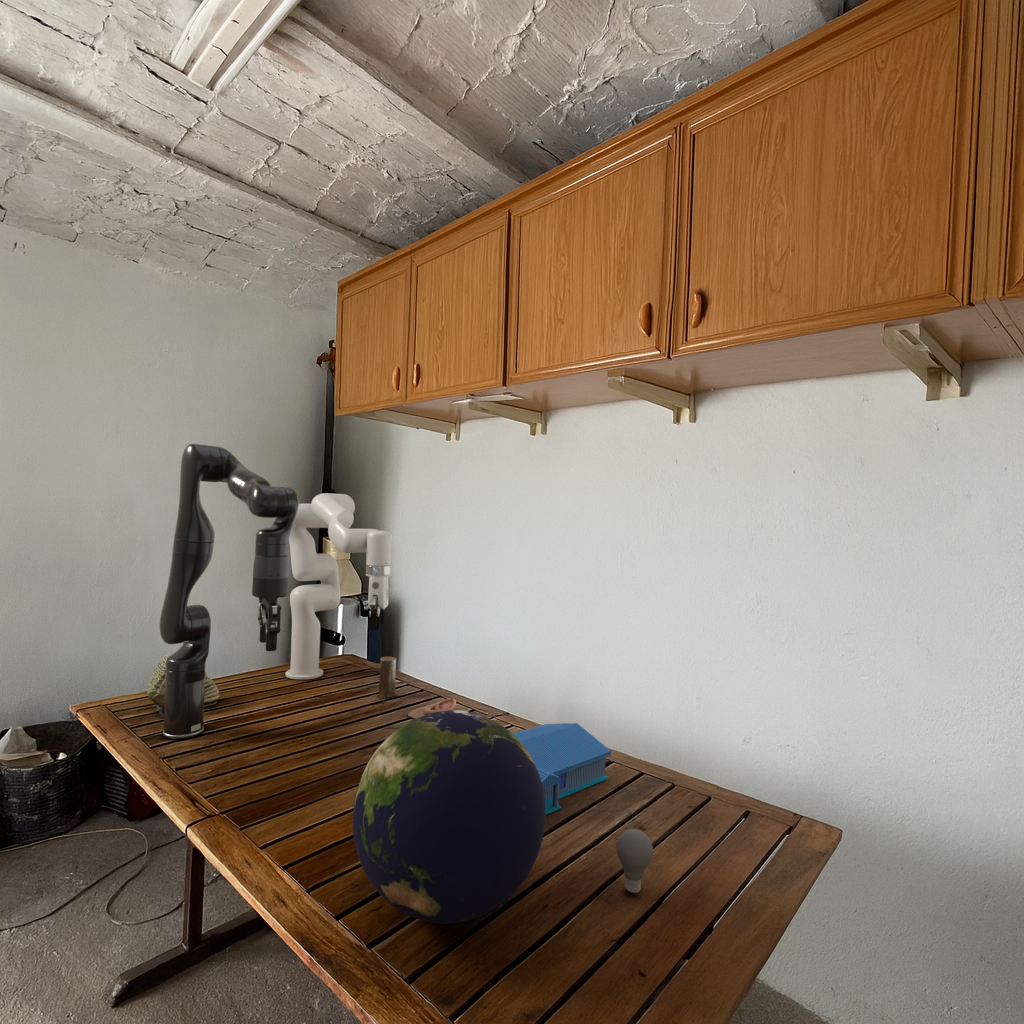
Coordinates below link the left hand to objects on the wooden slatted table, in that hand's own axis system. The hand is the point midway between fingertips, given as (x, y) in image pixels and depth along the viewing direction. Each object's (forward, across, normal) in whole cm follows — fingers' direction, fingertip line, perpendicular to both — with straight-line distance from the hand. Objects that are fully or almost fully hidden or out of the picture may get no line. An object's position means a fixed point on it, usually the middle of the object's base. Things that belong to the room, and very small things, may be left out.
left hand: (267, 646), depth 143 cm
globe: (+28, -61, -18) cm, 70 cm away
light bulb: (+28, -72, -48) cm, 90 cm away
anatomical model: (+29, +20, -50) cm, 61 cm away
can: (+29, +42, -44) cm, 68 cm away
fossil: (+30, +55, +13) cm, 64 cm away
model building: (+28, -31, -50) cm, 65 cm away
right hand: (+5, +37, -38) cm, 53 cm away
